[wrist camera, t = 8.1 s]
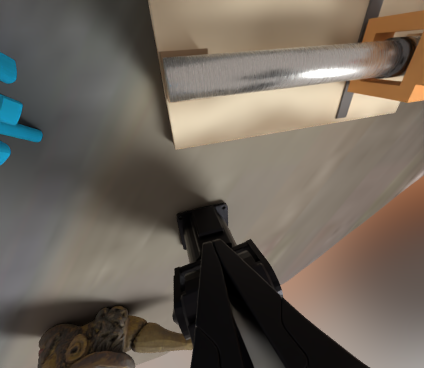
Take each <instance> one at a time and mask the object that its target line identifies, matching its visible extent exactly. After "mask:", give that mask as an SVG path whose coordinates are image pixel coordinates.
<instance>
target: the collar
mask: <svg viewBox="0 0 424 368" xmlns="http://www.w3.org/2000/svg"><path fill="white" fill-rule="evenodd" d="M412 30H424V10H422V11H416V12H409V13H403V14H397V15H390V16H384V17H377V18H371V19H369V21H368V24H367V27H366V31H365V34H364V37H363V41H362V42H373V41H384V40H386V39H388V38H393V37H394V34H395V32H401V31H412ZM347 92H352V93H357V94H363V95H368V96H374V97H379V98H385V99H390V100H395V101H401V102H406V103H409V102H415V101H421V100H424V31H423V34H422V36H421V38H420V40H419V43H418V45H417V47H416V50H415V52H414V54H413V57H412V59H411V61H410V63H409V66H408V68H407V70H406V73H405V75H404V77H403V80H402V81H393V80H383V79H376V78H367V79H359V80H350V84H349V87H348V90H347Z"/></svg>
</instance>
